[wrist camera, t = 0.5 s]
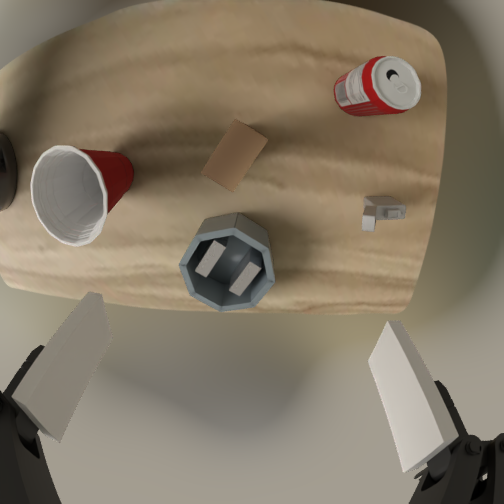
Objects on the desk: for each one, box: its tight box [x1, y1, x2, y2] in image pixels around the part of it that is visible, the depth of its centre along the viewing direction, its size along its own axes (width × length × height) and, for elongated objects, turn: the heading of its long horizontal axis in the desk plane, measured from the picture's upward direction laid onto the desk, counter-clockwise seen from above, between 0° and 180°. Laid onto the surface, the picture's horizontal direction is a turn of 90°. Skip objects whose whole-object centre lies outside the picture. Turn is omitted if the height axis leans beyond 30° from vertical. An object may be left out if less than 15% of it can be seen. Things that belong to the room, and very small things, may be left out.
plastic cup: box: [30, 145, 134, 247], centre depth 27 cm, size 11×11×12 cm
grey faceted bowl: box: [179, 213, 275, 312], centre depth 34 cm, size 11×11×6 cm
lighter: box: [362, 196, 406, 232], centre depth 29 cm, size 7×2×8 cm, turn 95°
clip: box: [195, 236, 261, 296], centre depth 34 cm, size 6×5×4 cm
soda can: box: [334, 56, 421, 116], centre depth 22 cm, size 6×6×12 cm
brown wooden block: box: [201, 119, 268, 192], centre depth 23 cm, size 2×4×16 cm, turn 147°
